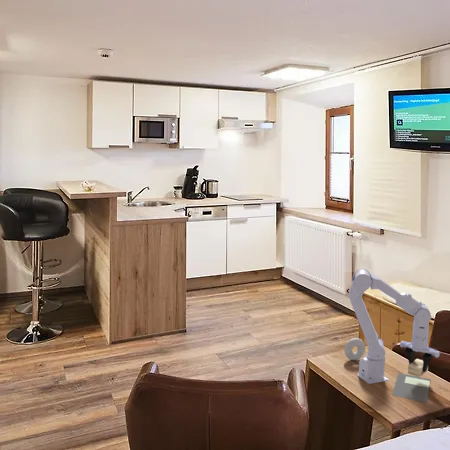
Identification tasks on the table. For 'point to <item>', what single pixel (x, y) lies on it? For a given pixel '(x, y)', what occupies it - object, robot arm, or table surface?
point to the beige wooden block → (416, 368)
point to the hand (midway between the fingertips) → (418, 369)
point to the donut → (349, 347)
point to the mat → (412, 387)
